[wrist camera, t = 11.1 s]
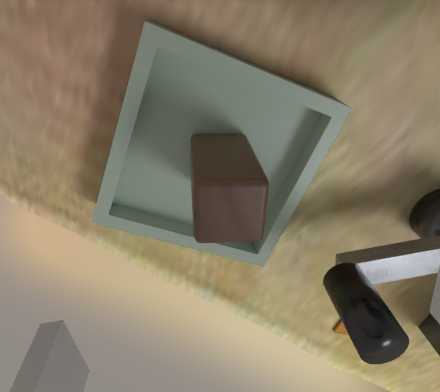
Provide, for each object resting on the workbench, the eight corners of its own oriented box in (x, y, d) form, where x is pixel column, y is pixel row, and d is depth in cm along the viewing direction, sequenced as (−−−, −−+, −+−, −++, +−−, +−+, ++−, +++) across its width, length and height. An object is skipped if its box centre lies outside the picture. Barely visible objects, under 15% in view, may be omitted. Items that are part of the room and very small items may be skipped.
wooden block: (190, 182, 26) (193, 246, 19) (190, 131, 24) (193, 181, 17) (242, 181, 26) (264, 244, 19) (246, 131, 25) (272, 180, 18)
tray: (148, 19, 21) (144, 21, 19) (337, 99, 25) (352, 108, 23) (98, 205, 27) (91, 222, 25) (257, 248, 31) (263, 266, 28)
